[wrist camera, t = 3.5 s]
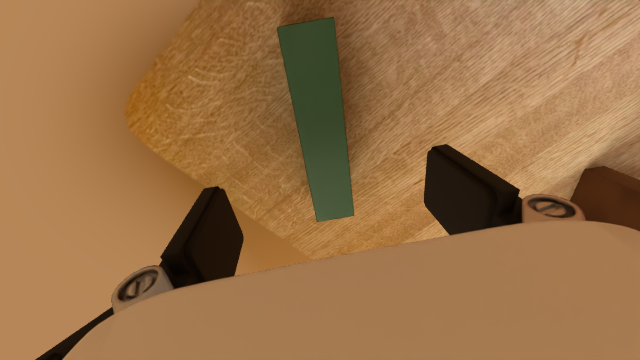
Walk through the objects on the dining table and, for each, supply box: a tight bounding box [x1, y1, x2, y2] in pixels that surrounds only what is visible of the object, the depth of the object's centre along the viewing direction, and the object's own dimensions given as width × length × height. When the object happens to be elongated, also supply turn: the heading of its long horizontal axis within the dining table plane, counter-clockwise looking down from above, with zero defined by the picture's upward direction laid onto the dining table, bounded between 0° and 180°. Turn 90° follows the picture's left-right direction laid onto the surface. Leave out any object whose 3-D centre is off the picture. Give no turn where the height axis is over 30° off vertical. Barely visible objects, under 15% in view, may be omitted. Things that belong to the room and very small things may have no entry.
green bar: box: [277, 17, 354, 222], centre depth 18 cm, size 14×3×4 cm, turn 9°
